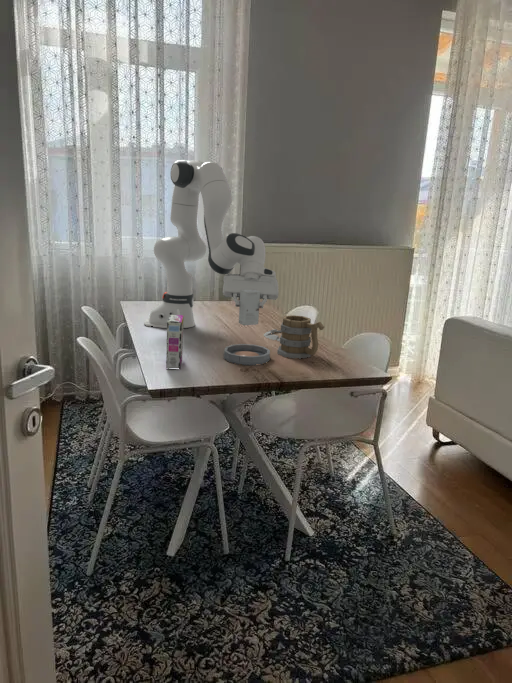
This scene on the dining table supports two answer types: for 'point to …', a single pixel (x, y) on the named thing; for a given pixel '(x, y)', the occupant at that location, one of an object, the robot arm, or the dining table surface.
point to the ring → (273, 337)
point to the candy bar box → (174, 341)
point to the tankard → (298, 337)
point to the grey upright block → (249, 307)
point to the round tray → (246, 354)
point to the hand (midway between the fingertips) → (249, 306)
